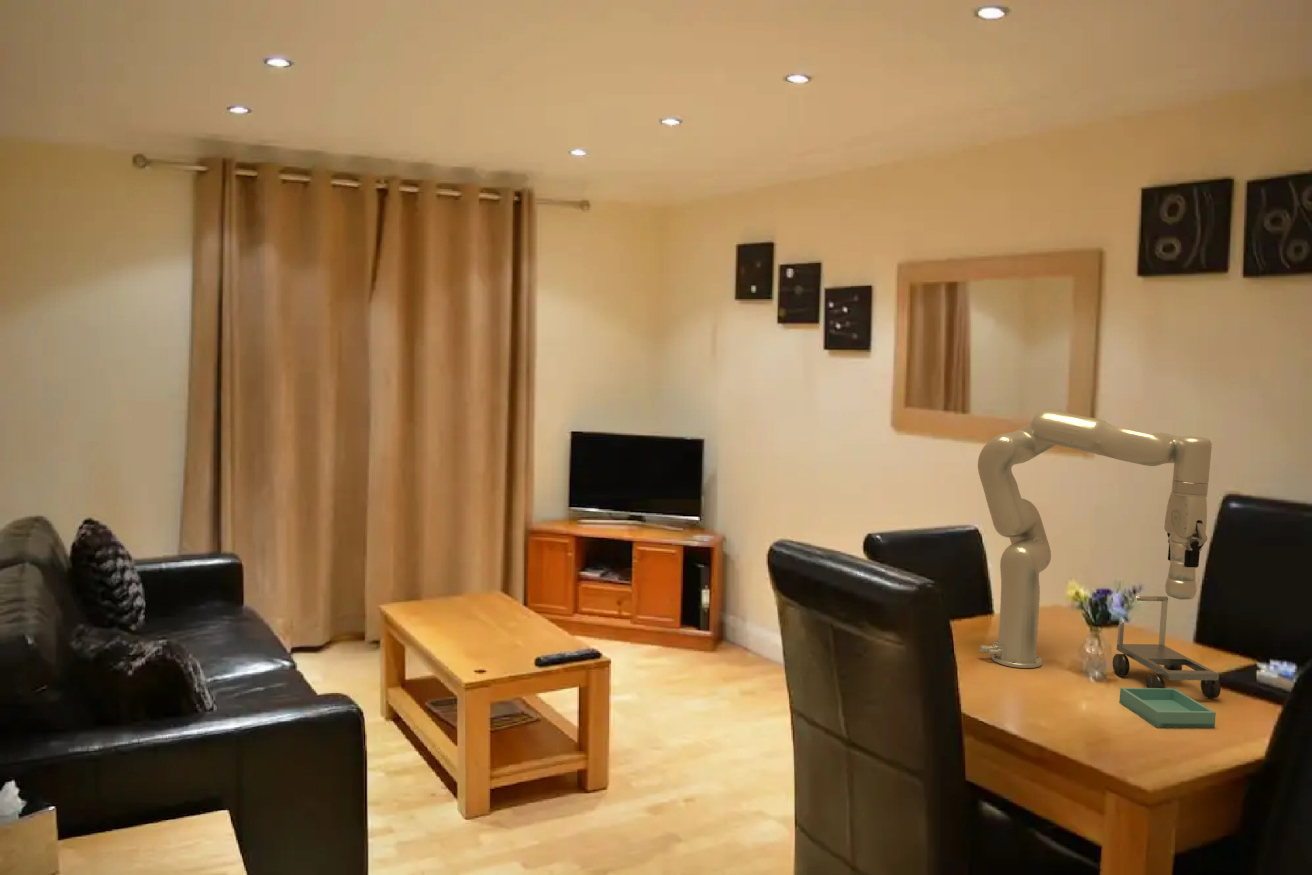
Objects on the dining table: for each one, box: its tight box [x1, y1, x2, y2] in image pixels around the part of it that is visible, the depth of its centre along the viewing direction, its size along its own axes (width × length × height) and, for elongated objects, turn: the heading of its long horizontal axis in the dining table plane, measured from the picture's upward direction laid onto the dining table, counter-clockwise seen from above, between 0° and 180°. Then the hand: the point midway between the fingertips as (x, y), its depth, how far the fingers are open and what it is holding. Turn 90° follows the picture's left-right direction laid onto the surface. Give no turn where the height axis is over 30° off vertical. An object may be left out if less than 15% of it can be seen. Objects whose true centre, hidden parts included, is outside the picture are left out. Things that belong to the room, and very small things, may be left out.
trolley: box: [1112, 595, 1222, 699], centre depth 251 cm, size 15×24×20 cm, turn 4°
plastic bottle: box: [1164, 532, 1197, 601], centre depth 244 cm, size 6×7×20 cm
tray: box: [1118, 687, 1217, 729], centre depth 231 cm, size 13×16×4 cm
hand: (1182, 563), depth 244 cm, fingers closed on plastic bottle, 6 cm apart
